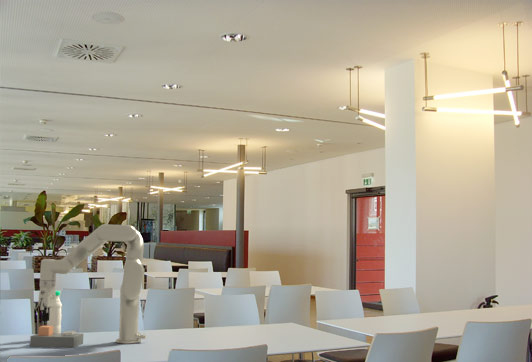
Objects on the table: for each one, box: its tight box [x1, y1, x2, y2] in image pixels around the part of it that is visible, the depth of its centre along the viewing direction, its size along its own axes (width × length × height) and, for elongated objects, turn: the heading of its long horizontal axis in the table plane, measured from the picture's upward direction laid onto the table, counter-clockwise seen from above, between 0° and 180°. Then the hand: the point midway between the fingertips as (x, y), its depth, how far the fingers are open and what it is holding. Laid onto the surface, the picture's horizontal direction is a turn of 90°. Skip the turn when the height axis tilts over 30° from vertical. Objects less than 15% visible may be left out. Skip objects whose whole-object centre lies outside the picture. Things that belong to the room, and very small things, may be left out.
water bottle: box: [46, 290, 63, 333], centre depth 321 cm, size 7×7×25 cm
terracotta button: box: [37, 325, 53, 336], centre depth 305 cm, size 5×5×5 cm
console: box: [29, 332, 84, 349], centre depth 304 cm, size 22×12×5 cm, turn 85°
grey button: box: [61, 330, 77, 336], centre depth 303 cm, size 5×5×5 cm
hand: (45, 320), depth 305 cm, fingers closed
